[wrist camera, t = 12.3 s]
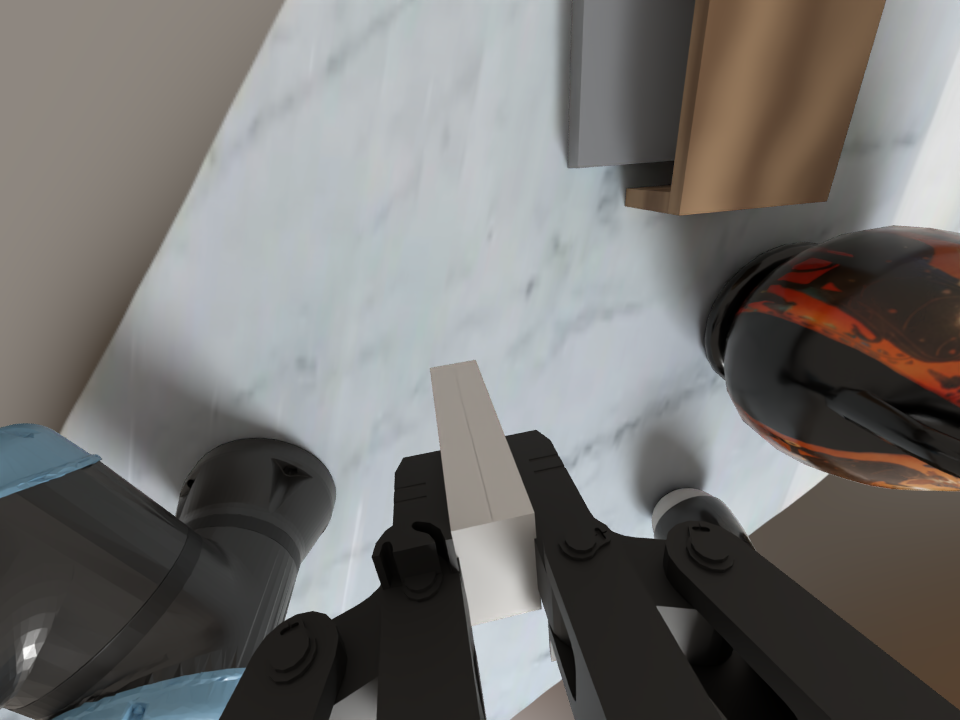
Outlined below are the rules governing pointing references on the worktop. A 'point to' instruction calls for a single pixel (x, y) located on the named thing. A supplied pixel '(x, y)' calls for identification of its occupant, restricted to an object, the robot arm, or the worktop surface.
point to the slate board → (627, 80)
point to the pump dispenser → (694, 513)
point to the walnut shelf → (765, 103)
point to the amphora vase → (850, 354)
